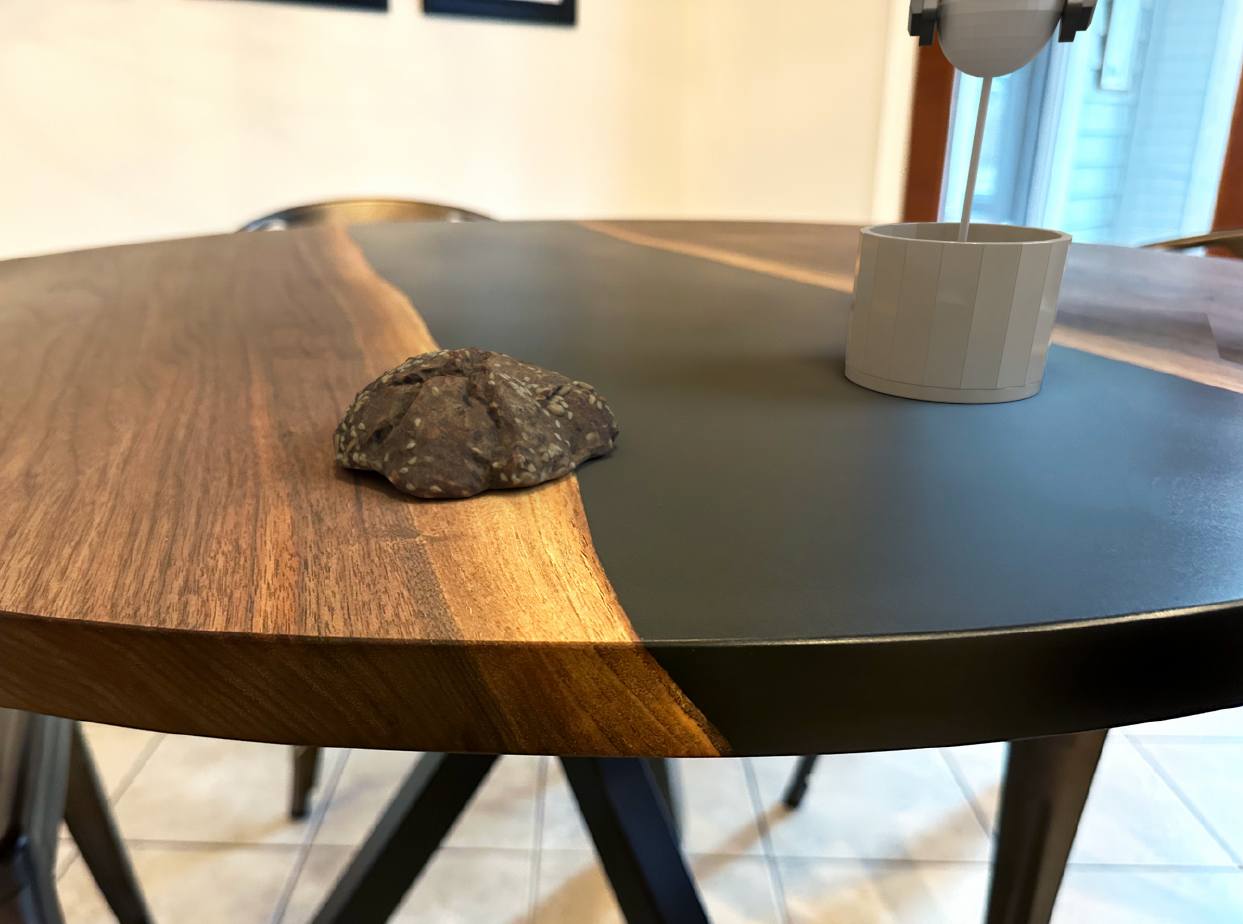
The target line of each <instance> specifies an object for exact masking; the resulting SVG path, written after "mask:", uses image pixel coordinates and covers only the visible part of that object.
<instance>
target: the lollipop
mask: <svg viewBox="0 0 1243 924" xmlns="http://www.w3.org/2000/svg"><path fill="white" fill-rule="evenodd" d="M1063 3H1064V0H941V1H940V2H939V8H938V12H937V18H936V33H937V39H938V43H939V46H940V49H941V51H942V54H943V55H944V57H945V58H946V60H947V61H948V62H949V63H950V64H951V65H952V66H953V67H954V68H955V69H956V70H957V71H959V72H962V74H965V75H968V76H971V77H975V78H981V79H982V85H981V90H980V96H979V104H978V110H977V114H976V115H977V116H976V122H975V128H974V135H973V142H972V147H971V155H970V159H969V167H968V172H967V178H966V187H965V192H964V197H963V198H964V200H963V203H962V211H961V218H960V222H961V223H960V229H959V236H958V242H966V240H967V234H968V228H969V223H971V222H970V221H971V216H972V215H971V214H972V209H973V204H974V203H973V202H974V196H975V191H976V185H977V184H976V183H977V178H978V171H979V165H980V159H981V152H982V147H983V141H984V135H985V134H984V133H985V128H986V122H987V115H988V109H989V104H990V103H989V102H990V96H991V90H992V85H993V79H994V78H1000V77H1004V76H1006V75H1010V74H1012V73H1014V72H1016V71H1019V70H1021V69H1022V68H1024V67H1026V66H1027V65H1028V64H1029V63H1031V62H1032V61H1034V60H1035V59H1036V58H1037V57H1038V56H1039V54H1041V53H1042V52H1043V50H1045V48H1046V46H1047V45H1048V44H1049V42H1050V41H1051V40H1052V38H1053V36H1054V33H1055V32H1056V30H1057V27H1058V25H1059V24H1060V18H1061V15H1062V13H1063Z"/></svg>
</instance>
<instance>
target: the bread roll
mask: <svg viewBox="0 0 1243 924" xmlns="http://www.w3.org/2000/svg"><path fill="white" fill-rule="evenodd" d="M615 417H616V416H615V415H614V413H613V411H612V409H611V407H610V406H609V405H608V403H607V399H606V398H605V397H603V396H600V394H599V393H598V392H597V391H595V387H594V386H592V385H590V384H589V383H586V382H583V381H578V380H573V379H571V378H569V377H567V376H564V375H561V374H560V373H559V372H557V371H551V370H550V371H549V370H547V369H545V368H543V367H541V366H538V365H535V364H533V363H532V362H529V361H526V360H520V359H518V358H515V357H512V356H511V357H510V356H509V355H507V354H506V353H505V354H504V353H502V352H498V353H497V352H495V351H487V350H484V349H478V347H476V346H472V347H468V346H466V347H462V348H456V349H446V348H444V349H443V350H441V351H440V350H436V349H434V350H431V351H429V352H424V353H421V354H418V355H413V356H409V357H408V358H407V359H405V361H404V362H403V363H401V364H400V365H397V366H396V367H395V368H391V369H390V368H389V369H387V370H386V371H384V372H383V373H382V374H381V375H379V376H378V377H377V378H376V379H375V380H374V381H371V383H368V384H367V385H366V386H365V387H364V388H363V389H360V390H359V391H358V392H356V394H355V397H354V398H353V400H352V402H351V404H349V405H348V406H346V408H345V412H344V415H343V417H342V418H341V419H340V421H339V423H338V424H337V428H336V429H334V431H333V433H332V444H333V452H334V457H335V459H336V461H337V463H338V466H339V467H341V468H343V469H352V470H353V469H354V470H361V471H376V472H377V473H378V474H380V475H382V476H384V477H385V478H387V479H388V480H389V481H390V482H391V484H392V485H393V486H394V487H395V488H396V489H397V490H399V491H401V492H403V493H405V494H408V495H411V496H415V497H417V498H426V499H427V498H429V499H432V498H433V499H435V498H436V499H440V498H441V499H444V498H445V499H448V498H449V499H452V498H453V499H456V498H457V499H458V498H468V497H472V496H474V495H477V494H479V493H482V492H483V491H486V490H502V489H512V488H513V489H515V488H526V487H527V488H528V487H533V486H536V485H538V484H540V483H543V482H545V481H550V480H554V479H560V478H561V477H563V476H565V475H567V474H568V473H570V472H573V471H574V470H575V469H576V468H578V467H579V466H580V465H581V464H582V463H584V462H585V461H587V460H589V459H593V458H597V457H603V456H605V455H608V454H609V453H611V451H613V450H614V449H615V448H616V446H615V444H614V443H615V442H616V440H617V439H618V437H619V434H620V431H621V430H620V427H619V425H618V422H617V421H616V418H615Z"/></svg>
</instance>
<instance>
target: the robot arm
mask: <svg viewBox="0 0 1243 924" xmlns="http://www.w3.org/2000/svg"><path fill="white" fill-rule="evenodd" d="M909 1H910V2H909V6H908V7H909V8H908V19H907V28H906V29H907V33H908V35H909V37H918V47H933V45H934V39H935V33H936V32H935V31H936V27H937V24H936V18H937V12H938V8H939V5H940V3H941V1H940V0H909ZM1098 1H1099V0H1064V3H1063V13H1062V15H1061V18H1060V20H1059V24H1058V25H1059V26H1058V34H1057V35H1058V36H1057V43H1058V44H1059V43H1060V44H1062V43H1074V42H1075V38H1076V34H1077V32H1086V31H1087V30H1088V29H1089V27H1090V26H1091V24H1092V21H1093V18H1094V14H1095V12H1096V8H1097V4H1098Z"/></svg>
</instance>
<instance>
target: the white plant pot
mask: <svg viewBox="0 0 1243 924" xmlns="http://www.w3.org/2000/svg"><path fill="white" fill-rule="evenodd" d="M960 223H961V221H960V222H958V221H915V222H914V221H911V222H908V221H907V222H890V223H880V224H873V225H872V224H871V225H868V226H864V227H862V228H860V229H859V235H858V242H857V243H858V245H857V253H856V261H855V269H854V278H853V285H852V286H853V287H852V293H851V303H850V313H849V319H848V329H847V335H846V337H847V338H846V345H845V353H844V354H845V355H844V358H845V364H844V365H845V366H844V375H845V377H846V378H847V379H848V380H849V381H851V382H852V383H853V384H856V385H858V386H860V387H863V388H864V389H865V388H866V389H868V390H872V391H875V392H878V393H882V394H886V395H889V396H890V395H891V396H896V397H900V398H906V399H912V400H918V401H928V402H936V403H951V404H996V403H997V404H998V403H999V404H1000V403H1008V402H1014V401H1020V400H1024V399H1027V398H1032V397H1033V396H1035V395H1037V394H1038V393H1040V390H1041V389H1042V385H1043V379H1044V375H1045V373H1046V368H1047V363H1048V359H1049V354H1050V349H1051V346H1052V345H1051V344H1052V339H1053V334H1054V329H1055V326H1056V325H1055V324H1056V320H1057V314H1058V311H1059V304H1060V300H1061V297H1062V291H1063V287H1064V281H1065V276H1066V271H1067V266H1068V261H1069V257H1070V251H1071V247H1072V241H1073V237H1074V236H1073V235H1072V234H1070V233H1067V232H1064V231H1062V230H1056V229H1051V228H1046V227H1045V228H1044V227H1036V226H1028V225H1027V226H1026V225H1016V224H1003V223H985V222H969V228H968V234H967V240H966V242H958V236H959V229H960Z"/></svg>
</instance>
